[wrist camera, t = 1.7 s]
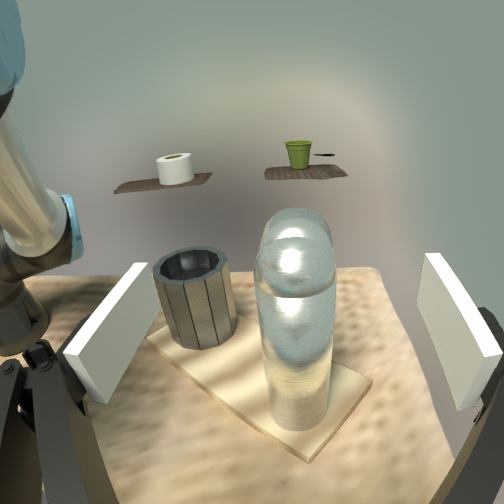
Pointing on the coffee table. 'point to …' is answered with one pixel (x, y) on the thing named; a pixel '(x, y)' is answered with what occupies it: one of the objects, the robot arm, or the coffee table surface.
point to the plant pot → (298, 153)
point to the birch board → (260, 385)
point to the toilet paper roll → (175, 169)
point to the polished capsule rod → (296, 315)
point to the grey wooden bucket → (196, 296)
